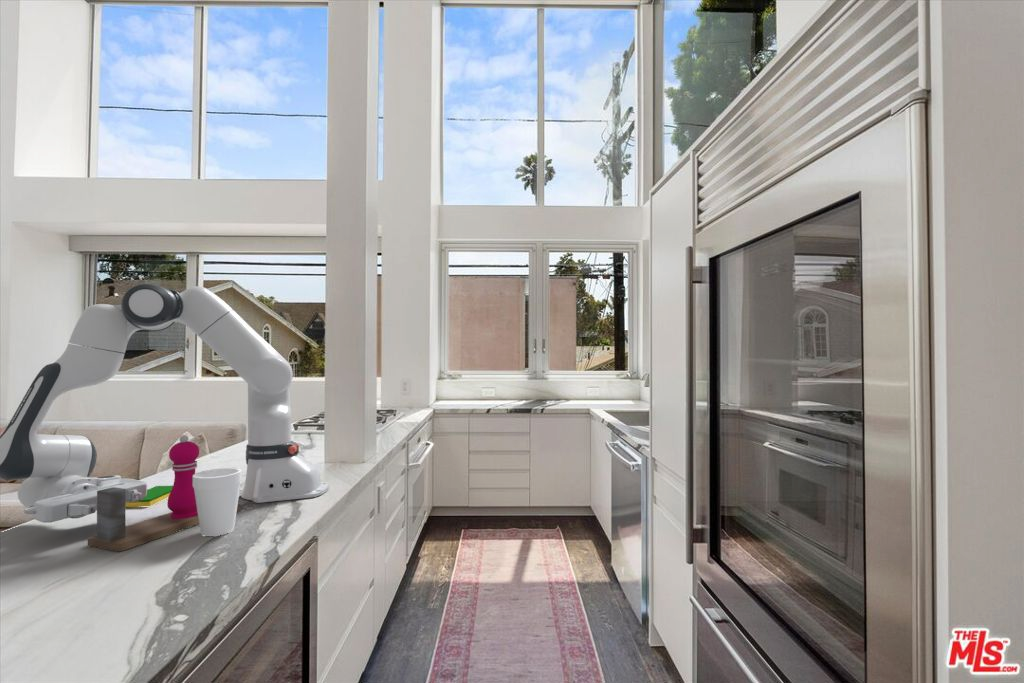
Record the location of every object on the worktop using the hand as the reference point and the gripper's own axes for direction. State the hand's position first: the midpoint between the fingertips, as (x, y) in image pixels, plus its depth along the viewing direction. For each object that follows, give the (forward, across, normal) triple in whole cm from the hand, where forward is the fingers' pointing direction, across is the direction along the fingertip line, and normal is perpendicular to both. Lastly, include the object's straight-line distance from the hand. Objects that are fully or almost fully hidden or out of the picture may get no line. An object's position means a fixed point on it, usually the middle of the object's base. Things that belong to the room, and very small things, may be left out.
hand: (116, 503), depth 110 cm
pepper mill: (+5, +12, +7) cm, 15 cm away
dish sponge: (-21, +22, +8) cm, 31 cm away
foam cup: (+18, +10, +7) cm, 22 cm away
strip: (+5, +8, +7) cm, 12 cm away
